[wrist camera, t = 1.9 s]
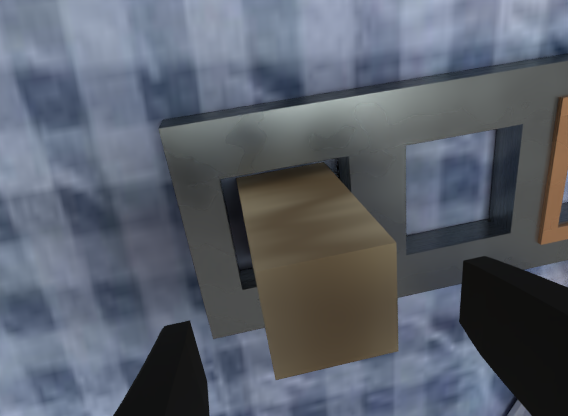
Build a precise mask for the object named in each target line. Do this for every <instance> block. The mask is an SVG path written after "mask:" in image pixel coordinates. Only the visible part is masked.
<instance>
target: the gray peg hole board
mask: <svg viewBox="0 0 568 416" xmlns="http://www.w3.org/2000/svg"><path fill="white" fill-rule="evenodd" d="M494 129H497V134H496V145H495V156H494V168H493V179H492V190H491V202H490V213H489V219H486V220H481V221H477V222H472V223H467V224H462V225H457V226H452V227H448V228H443V229H438V230H433V231H428V232H423V233H419V234H414V235H409V236H406V145H411V144H417V143H422V142H428V141H433V140H439V139H444V138H450V137H455V136H461V135H466V134H472V133H477V132H483V131H488V130H494ZM159 133H160V137H161V140H162V144H163V148H164V152H165V156H166V160H167V163H168V167H169V171H170V175H171V179H172V183H173V186H174V190H175V194H176V198H177V202H178V206H179V210H180V213H181V217H182V221H183V225H184V229H185V233H186V236H187V240H188V244H189V248H190V252H191V256H192V259H193V263H194V267H195V271H196V275H197V279H198V283H199V286H200V290H201V294H202V298H203V302H204V306H205V309H206V313H207V317H208V321H209V325H210V329H211V332H212V336H213V339H216V338H220V337H225V336H229V335H234V334H238V333H243V332H247V331H252V330H256V329H260V328H265V324H264V319H263V314H262V309H261V304H260V299H259V294H258V289H257V284H256V279H255V274H254V269H253V268H249V269H245V270H240V271H239V266H238V261H237V256H236V251H235V247H234V242H233V237H232V232H231V227H230V222H229V218H228V213H227V208H226V203H225V198H224V193H223V189H222V184H221V179H224V178H230V177H235V176H241V175H246V174H252V173H257V172H263V171H268V170H274V169H279V168H285V167H290V166H296V165H301V164H307V163H312V162H318V161H323V160H329V159H334V158H338V164H339V177H340V181H341V182H342V183H343V184H344V185H345V186H346V187H347V188H348V190H349V191H350V192H351V193H352V194H353V195H354V196H355V197H356V198H357V200H358V201H359V202H360V203H361V204H362V205H363V206H364V207H365V208H366V209H367V211H368V212H369V213H370V214H371V215H372V216H373V217H374V218H375V219H376V221H377V222H378V223H379V224H380V225H381V226H382V227H383V228H384V229H385V230H386V232H387V233H388V234H389V235H390V236H391V237H392V238H393V239H394V240H395V242H396V247H397V298H399V297H404V296H408V295H413V294H417V293H422V292H426V291H431V290H435V289H440V288H444V287H448V286H453V285H457V284H462V272H463V261H464V260H468V259H473V258H477V257H482V256H487V257H490V258H493V259H496V260H499V261H501V262H504V263H507V264H509V265H512V266H515V267H517V268H520V269H522V270H525V269H529V268H534V267H538V266H542V265H547V264H551V263H556V262H560V261H565V260H568V203H564V204H562V199H563V193H564V187H565V182H566V176H567V170H568V54H563V55H556V56H550V57H544V58H538V59H532V60H526V61H520V62H514V63H508V64H501V65H495V66H489V67H483V68H477V69H471V70H465V71H459V72H453V73H447V74H440V75H434V76H428V77H422V78H416V79H410V80H404V81H398V82H392V83H386V84H379V85H373V86H367V87H361V88H355V89H349V90H343V91H337V92H331V93H324V94H318V95H312V96H306V97H300V98H294V99H288V100H282V101H276V102H270V103H263V104H257V105H251V106H245V107H239V108H233V109H227V110H221V111H215V112H209V113H202V114H196V115H190V116H184V117H178V118H172V119H166V120H163V121H162V123H161V125H160V127H159Z"/></svg>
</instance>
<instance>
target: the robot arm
mask: <svg viewBox="0 0 568 416" xmlns="http://www.w3.org/2000/svg"><path fill="white" fill-rule="evenodd" d="M459 322H460V324H461V325H462V327H463V329H464V330H465V332H466V333H467V335H468V337H469V338H470V340H471V341H472V343H473V344H474V346H475V347H476V349H477V350H478V352H479V353H480V355H481V356H482V357H483V359H484V360H485V361H486V362H487V363H488V365H489V366H490V367H491V368H492V369H493V371H494V372H495V373H496V374H497V375H498V377H499V378H500V379H501V380H502V381H503V383H504V384H505V385H506V386H507V387H508V388H509V390H510V391H511V392H512V393H513V394H514V396H515V397H516V398H517V399H518V400H517V401H516V403H515V404H514V406H513V407H512V409H511V410H510V412H509V413H508V415H507V416H568V287H565V286H563V285H560V284H558V283H555V282H553V281H550V280H547V279H545V278H542V277H540V276H537V275H535V274H532V273H530V272H527V271H525V270H522V269H520V268H517V267H515V266H512V265H509V264H507V263H504V262H501V261H499V260H496V259H493V258H490V257H487V256H482V257H477V258H473V259H468V260H464V261H463V272H462V288H461V303H460V319H459ZM113 416H209V401H208V386H207V379H206V376H205V372H204V369H203V365H202V362H201V358H200V355H199V351H198V348H197V344H196V341H195V337H194V334H193V330H192V327H191V323H190V321H185V322H181V323H176V324H172V325H167V326H164V328H163V329H162V330H161V332H160V334H159V336H158V338H157V340H156V342H155V344H154V346H153V348H152V350H151V352H150V353H149V355H148V357H147V359H146V361H145V363H144V365H143V366H142V368H141V370H140V372H139V374H138V375H137V377H136V379H135V380H134V382H133V384H132V386H131V387H130V389H129V391H128V392H127V394H126V396H125V398H124V399H123V401H122V403H121V404H120V406H119V407H118V409H117V410H116V412H115V414H114V415H113Z"/></svg>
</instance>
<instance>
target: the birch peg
mask: <svg viewBox="0 0 568 416" xmlns="http://www.w3.org/2000/svg"><path fill="white" fill-rule="evenodd" d="M236 181H237V186H238V191H239V196H240V202H241V207H242V212H243V217H244V223H245V228H246V233H247V238H248V244H249V249H250V254H251V259H252V264H253V269H254V274H255V279H256V284H257V289H258V294H259V299H260V304H261V309H262V314H263V319H264V324H265V329H266V334H267V339H268V344H269V349H270V354H271V359H272V364H273V369H274V374H275V379H276V380H279V379H283V378H287V377H291V376H295V375H300V374H304V373H308V372H312V371H317V370H321V369H325V368H329V367H333V366H338V365H342V364H346V363H350V362H354V361H359V360H363V359H367V358H371V357H376V356H380V355H384V354H388V353H392V352H397V351H398V305H397V247H396V242H395V240H394V239H393V238H392V237H391V236H390V235H389V234H388V233H387V232H386V230H385V229H384V228H383V227H382V226H381V225H380V224H379V223H378V222H377V221H376V219H375V218H374V217H373V216H372V215H371V214H370V213H369V212H368V211H367V209H366V208H365V207H364V206H363V205H362V204H361V203H360V202H359V201H358V200H357V198H356V197H355V196H354V195H353V194H352V193H351V192H350V191H349V190H348V188H347V187H346V186H345V185H344V184H343V183H342V182H341V181H340V180H339V178H338V177H337V176H336V175H335V174H334V173H333V172H332V171H331V170H330V169H329V167H328V166H327V165H326V164H325V163H324V162H322V163H316V164H311V165H305V166H300V167H294V168H289V169H283V170H278V171H272V172H267V173H261V174H256V175H250V176H245V177H239V178H236Z"/></svg>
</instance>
